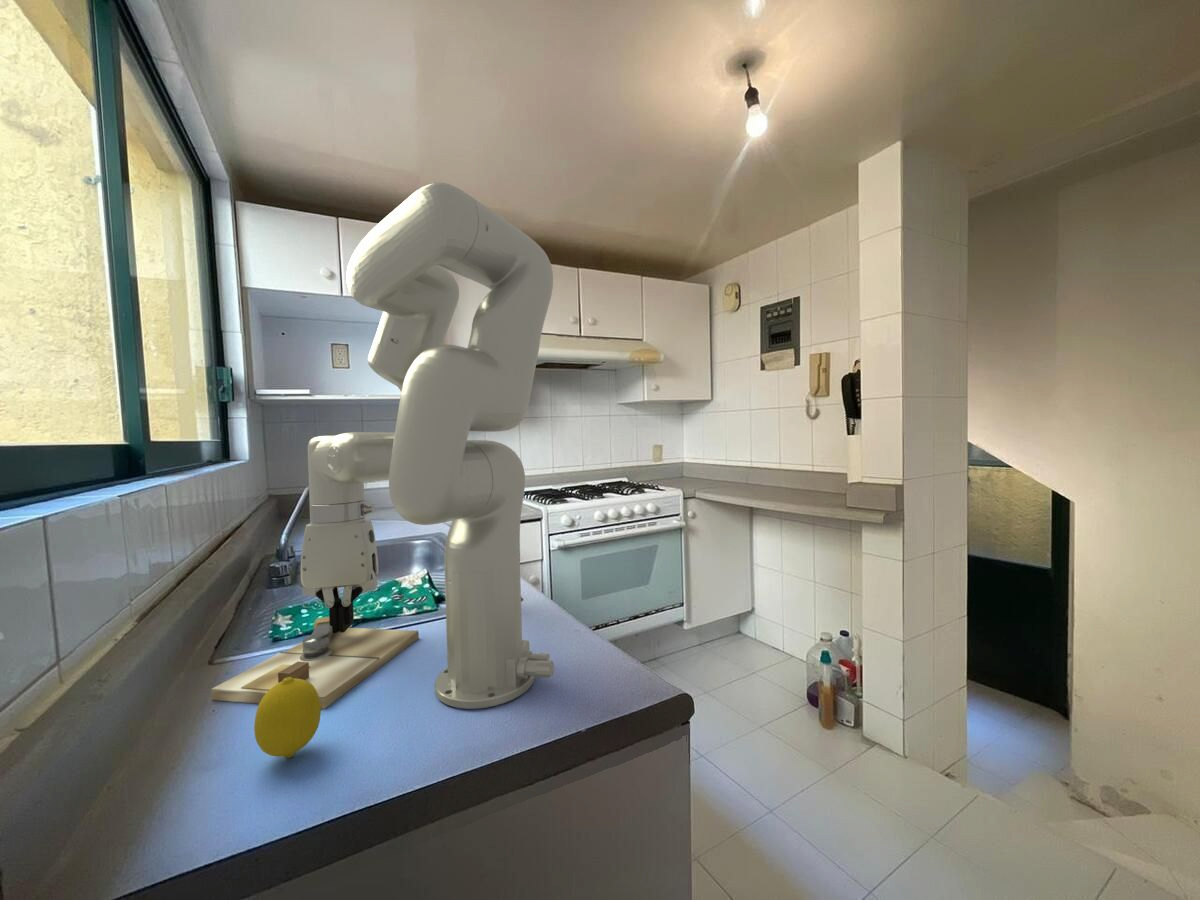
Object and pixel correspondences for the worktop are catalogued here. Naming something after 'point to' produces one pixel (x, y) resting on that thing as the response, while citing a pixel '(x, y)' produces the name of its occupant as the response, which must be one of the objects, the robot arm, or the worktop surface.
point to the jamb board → (320, 666)
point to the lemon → (287, 717)
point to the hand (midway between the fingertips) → (342, 629)
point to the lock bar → (318, 638)
